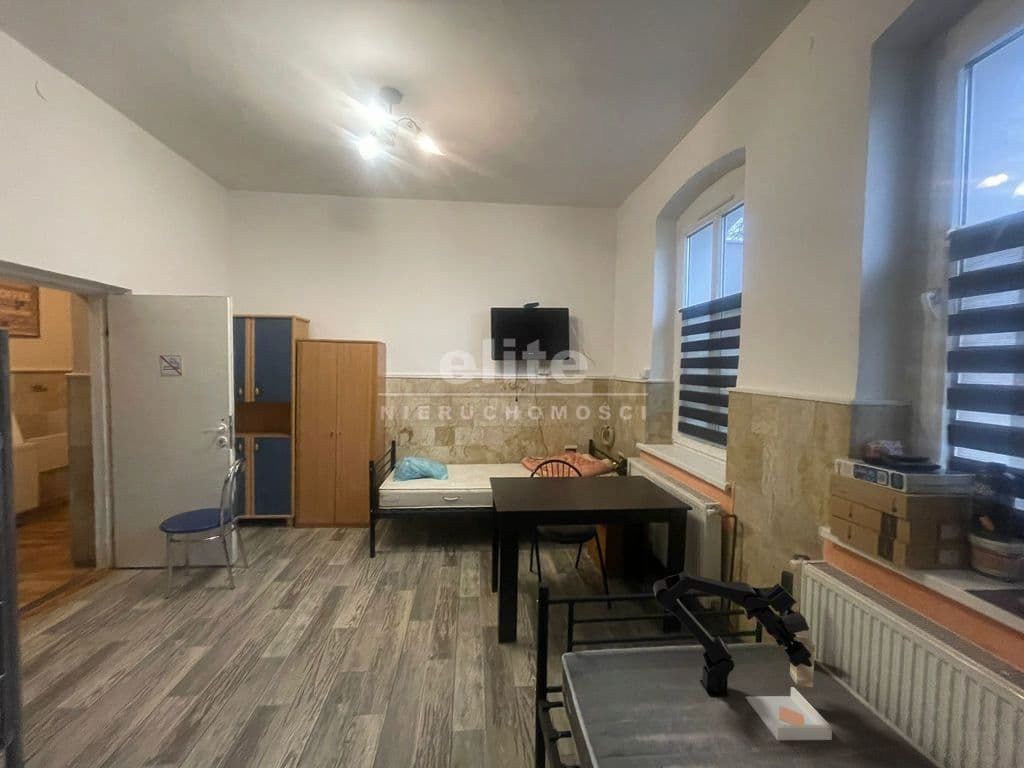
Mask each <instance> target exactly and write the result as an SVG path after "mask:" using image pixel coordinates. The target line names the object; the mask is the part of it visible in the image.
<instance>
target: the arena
mask: <svg viewBox="0 0 1024 768" xmlns="http://www.w3.org/2000/svg"><path fill="white" fill-rule="evenodd" d="M745 700H746V701H747V702H748V704H749V705H750V706H751V707H752V709H753V710H754V711H755V713H756V714H757V715H758V717H759V719H761V721H763V723H764V725H765V726H766V727H767V729H768V730H769V731H770V732H771V734H772V735H773V736H774V738H775V739H776V740H777V741H827V740H828V741H832V738H833V727H832V726H831V724H830V723H829V722H827V721H826V719H825V718H824V717H823V716H822V715H821V714H820V713H819V712H818V711H817V710H816V709H815V708H814V706H812V705H811V704H810V703H809V702H808V701H807V699H806V698H805V697H804V696H803V695H802V694H801V693H800V692H799V691H798V690H797V688H795V687H794V686H791V687H790V695H789V696H786V695H785V696H784V695H782V696H777V695H776V696H775V695H773V696H770V695H769V696H768V695H767V696H766V695H764V696H759V695H758V696H757V695H755V696H745Z"/></svg>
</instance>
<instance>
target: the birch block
mask: <svg viewBox="0 0 1024 768" xmlns="http://www.w3.org/2000/svg"><path fill="white" fill-rule="evenodd" d="M793 639H794V640H795V641H798V642H802V643H803V644H804V645H805V647H806V648H807V649H808V650H809V652H810V653H811V657H810V658H808V659H809V660H810V662H811V664H812V666H811V667H808V666H806V665H803V664H800V665H798V666H797V667H795V666H793V665H792V664H791V663H790V662H789V663H790V664H789V667H790V668H789V676H791V679H792V680H793V682H794V683H795V685H797V686H802V687H808V688H814V673H815V670H814V669H815V651H816V646H815V643H814V642H813V641H812V640H811V638H810V639H809V638H808V636H801V635H796V637H794V638H793ZM791 643H792V642H791ZM792 644H793V643H792Z"/></svg>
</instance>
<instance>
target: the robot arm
mask: <svg viewBox="0 0 1024 768" xmlns="http://www.w3.org/2000/svg"><path fill="white" fill-rule="evenodd" d="M689 590H693V591H697V592H700V593H705V594H708V595H712V596H715V597H719V598H723V599H727V600H728V601H730V602H732V603H734V604H735V605H737V606H739V607H742V608H743V609H744V611H743V614H744V616H745V617H746V619H747V620H749V621H750V620H751V619H753V618H754V619H756V621H757V622H758V623H759V624H760V625H761V626H762V627H763V628H764V629H765V631H766V632H767V634H768V635H769V636H771V637H772V638H773V639H774V640H775V642H776V644H777V645H778V646H779V647H781V646H783V647H785V649H784V652H783V653H784V655H785V657H786V658H787V661H789V663H791V664H792V665H793V666H795V667H797V666H798V665H800V664H803V665H806V666H808V667H811V666H812V664H811V662H810V660H809V659H808V658H810V657H811V653H810V652H809V650H808V649H807V648H806V647H805V645H804V644H803V643H802V642H798V641H795V640H794V639H793V638H794V637H796V634H795V633H797V632H801V631H808V630H809V629H810V627H809V625H808V622H807V620H806V618H805V617H804V616H803V615H802V613H801V612H800V611H798V610H794V609H792V607H793V606H795V605H796V604H798V602H797V599H796V600H795V598H794V597H793V596H792V595H791V594H790V592H788V591H787V589H785V588H784V587H783V586H782V585H781V584H780V583H778V582H777V583H776V584H775V585H773V587H772V588H770V589H769V590H767V591H766V592H764V590H763V589H762V588H758V587H754V586H751V585H750V584H749V583H746V582H741V581H740V582H739V581H731V582H725V581H720V580H717V579H712V578H708V577H705V576H701V575H697V574H693V573H689V572H687V571H681V572H679V573H677V574H674V575H669V576H667V577H665V578H663V579H659V580H658V579H657V580H656V581H654V583H653V592H654V597H655V600H656V602H657V603H658V604H659V606H661V607H662V608H663V609H665V610H666V611H668V612H670V613H671V614H673V615H674V616H675V617H676V618H677V619H678V621H680V623H681V624H682V625H683V626H684V628H686V629H687V630H688V631H689V633H690V634H692V636H693V637H694V638H695V639H696V640H697V642H698V643H699V644H700V645H701V646H702V648H704V650H705V651H704V652H703V653H702V654H701V655H702V659H703V661H704V664H705V665H704V666H702V679H699V682H700V684H701V685H702V687H703V689H704V691H706V693H707V694H708V696H710V697H729V696H730V694H729V692H728V691H727V690H728V685H729V683H728V682H729V680H728V679H729V678H728V677H729V675H730V673H731V672H732V671H733V670H734V669H735V662H734V660H733V655H732V652H731V650H730V648H729V646H728V644H727V643H725V642H724V641H723V640H722V638H721V637H720V636H719V635H717V636H716V637H714V636H712V635H711V634H710V633H709V632H708V631H707V630H706V628H705V627H703V625H702V624H701V623H700V622H699V621H698V620H697V618H696V617H695V616H694V615H693V614H692V613H691V612H690V611H689V610H688V608H686V607H685V605H684V604H683V603H682V602H681V601H680V598H681V597H682V596H683V595H684V594H685V593H686V592H687V591H689ZM777 613H779V614H777ZM781 614H783V616H782V615H781ZM794 632H795V633H794ZM791 642H792V643H793V644H792V643H791Z"/></svg>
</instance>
